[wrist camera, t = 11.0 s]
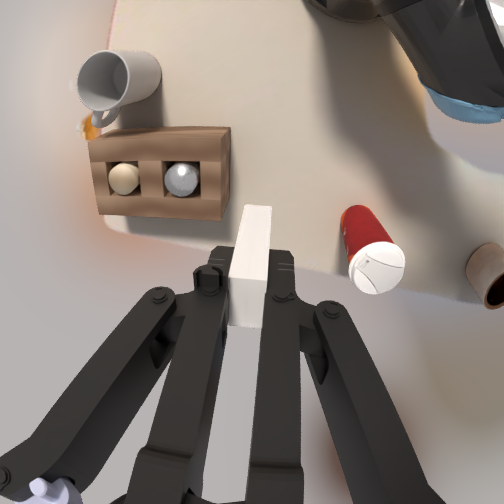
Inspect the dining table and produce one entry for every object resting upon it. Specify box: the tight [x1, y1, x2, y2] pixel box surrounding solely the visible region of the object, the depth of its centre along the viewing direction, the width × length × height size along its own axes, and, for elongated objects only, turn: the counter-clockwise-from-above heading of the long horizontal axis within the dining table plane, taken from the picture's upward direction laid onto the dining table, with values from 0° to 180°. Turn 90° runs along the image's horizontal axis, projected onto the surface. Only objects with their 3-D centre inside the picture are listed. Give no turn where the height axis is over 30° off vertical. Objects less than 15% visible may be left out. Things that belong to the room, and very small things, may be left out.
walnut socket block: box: [88, 126, 230, 221], centre depth 44 cm, size 12×20×8 cm, turn 87°
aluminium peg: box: [165, 161, 201, 196], centre depth 43 cm, size 4×4×8 cm
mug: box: [76, 50, 161, 128], centre depth 35 cm, size 12×8×11 cm
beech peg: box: [109, 161, 140, 195], centre depth 43 cm, size 4×4×8 cm
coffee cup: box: [341, 205, 405, 294], centre depth 44 cm, size 8×8×15 cm
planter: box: [466, 243, 504, 310], centre depth 48 cm, size 11×11×10 cm
